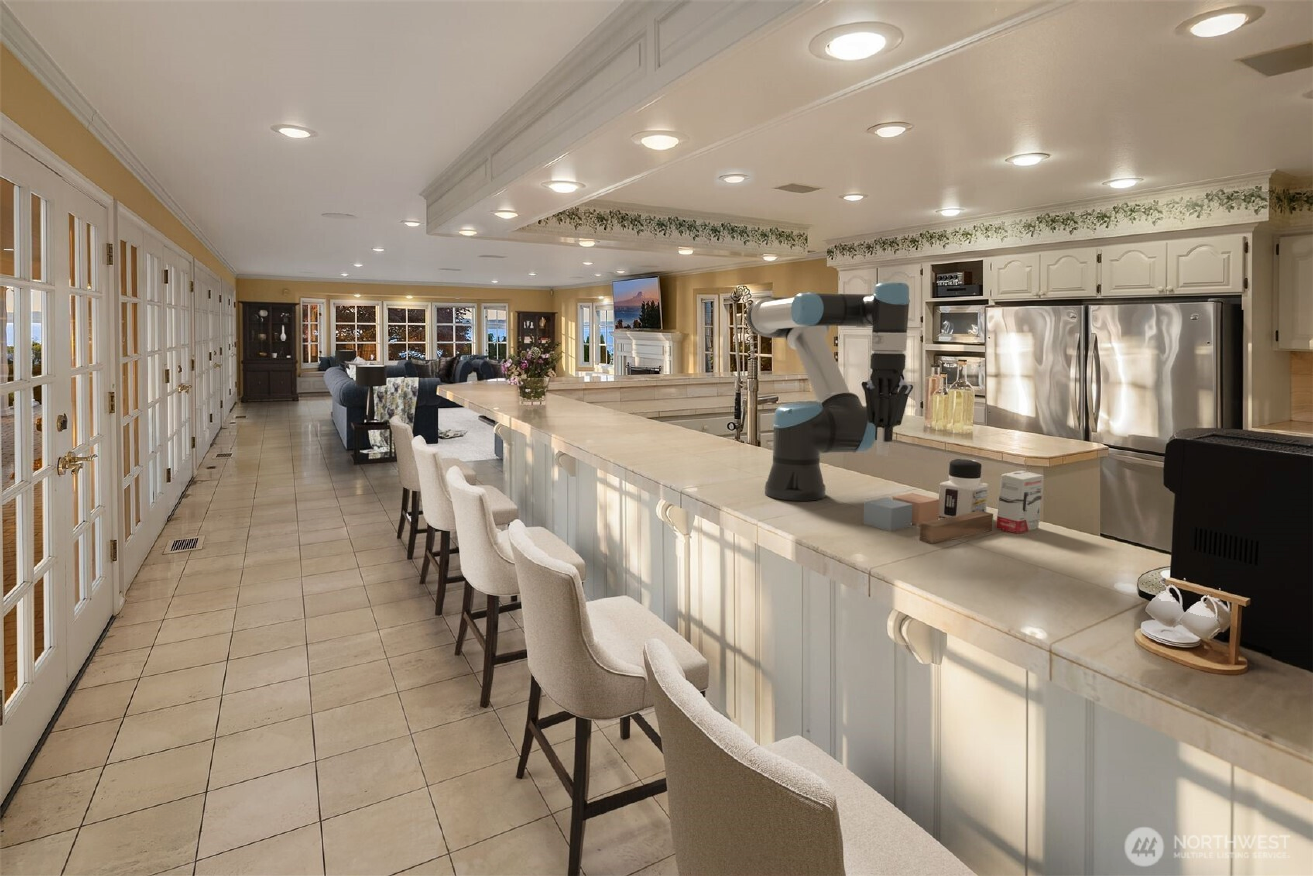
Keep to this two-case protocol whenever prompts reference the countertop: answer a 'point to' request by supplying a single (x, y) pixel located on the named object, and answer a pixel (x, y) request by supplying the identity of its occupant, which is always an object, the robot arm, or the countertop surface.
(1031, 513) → the ink box
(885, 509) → the slate block
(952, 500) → the container
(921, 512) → the terracotta block
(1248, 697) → the countertop surface
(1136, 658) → the countertop surface
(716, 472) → the countertop surface
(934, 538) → the walnut board
